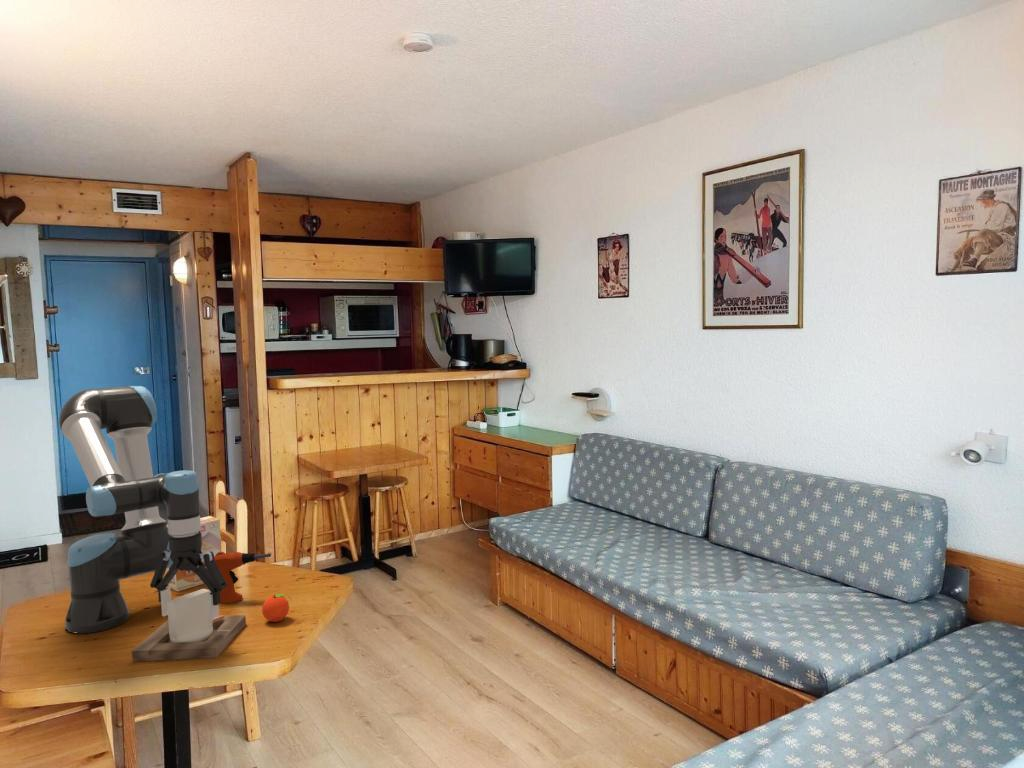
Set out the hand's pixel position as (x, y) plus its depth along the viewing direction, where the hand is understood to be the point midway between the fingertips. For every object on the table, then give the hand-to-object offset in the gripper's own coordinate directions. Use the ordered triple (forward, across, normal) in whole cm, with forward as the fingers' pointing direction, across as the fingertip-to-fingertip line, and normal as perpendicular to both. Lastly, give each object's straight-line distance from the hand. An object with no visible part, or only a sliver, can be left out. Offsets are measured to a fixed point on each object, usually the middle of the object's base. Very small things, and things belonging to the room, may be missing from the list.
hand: (190, 615), depth 182 cm
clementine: (+7, -15, -16) cm, 23 cm away
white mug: (+6, -1, -2) cm, 6 cm away
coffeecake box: (+7, +28, -40) cm, 49 cm away
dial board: (+7, 0, 0) cm, 7 cm away
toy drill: (+7, +4, -28) cm, 29 cm away
